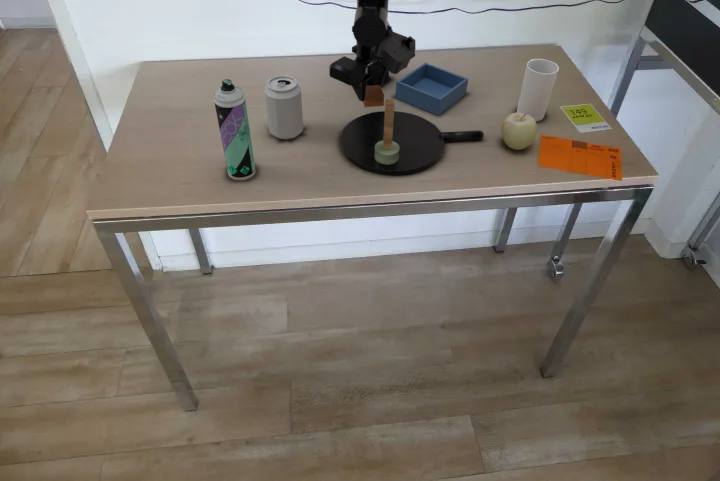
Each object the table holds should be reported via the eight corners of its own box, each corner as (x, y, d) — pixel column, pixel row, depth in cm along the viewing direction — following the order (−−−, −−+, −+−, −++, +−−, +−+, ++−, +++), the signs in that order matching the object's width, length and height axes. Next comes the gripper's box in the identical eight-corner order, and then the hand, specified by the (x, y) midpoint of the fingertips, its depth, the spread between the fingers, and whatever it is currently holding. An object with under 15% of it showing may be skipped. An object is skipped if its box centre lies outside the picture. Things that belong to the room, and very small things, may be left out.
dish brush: (373, 150, 116) (375, 94, 107) (397, 149, 117) (401, 93, 108) (375, 165, 113) (378, 108, 104) (400, 164, 113) (404, 107, 104)
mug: (549, 121, 127) (563, 73, 119) (520, 123, 127) (533, 74, 118) (534, 98, 134) (547, 51, 126) (507, 99, 134) (518, 52, 125)
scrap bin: (395, 97, 134) (396, 81, 131) (423, 77, 140) (425, 62, 138) (438, 115, 128) (440, 99, 125) (465, 94, 135) (468, 78, 132)
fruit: (540, 148, 120) (549, 115, 114) (514, 158, 117) (523, 126, 112) (515, 130, 125) (523, 98, 119) (490, 140, 122) (497, 108, 116)
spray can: (229, 164, 114) (212, 74, 100) (256, 163, 115) (243, 73, 100) (226, 181, 110) (209, 89, 96) (255, 180, 111) (241, 89, 97)
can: (309, 126, 124) (306, 76, 116) (295, 144, 119) (291, 94, 111) (278, 119, 126) (273, 70, 118) (263, 137, 121) (257, 87, 113)
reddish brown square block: (360, 97, 117) (361, 86, 115) (379, 95, 118) (380, 84, 116) (364, 107, 114) (364, 96, 112) (383, 105, 115) (384, 94, 113)
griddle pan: (345, 178, 112) (345, 170, 110) (336, 117, 127) (336, 110, 126) (497, 169, 114) (499, 161, 113) (470, 111, 130) (471, 103, 128)
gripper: (375, 53, 96) (372, 130, 107) (436, 17, 106) (427, 90, 117) (326, 33, 101) (328, 109, 112) (389, 1, 111) (385, 72, 122)
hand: (369, 95), depth 116 cm, fingers closed on reddish brown square block, 5 cm apart
